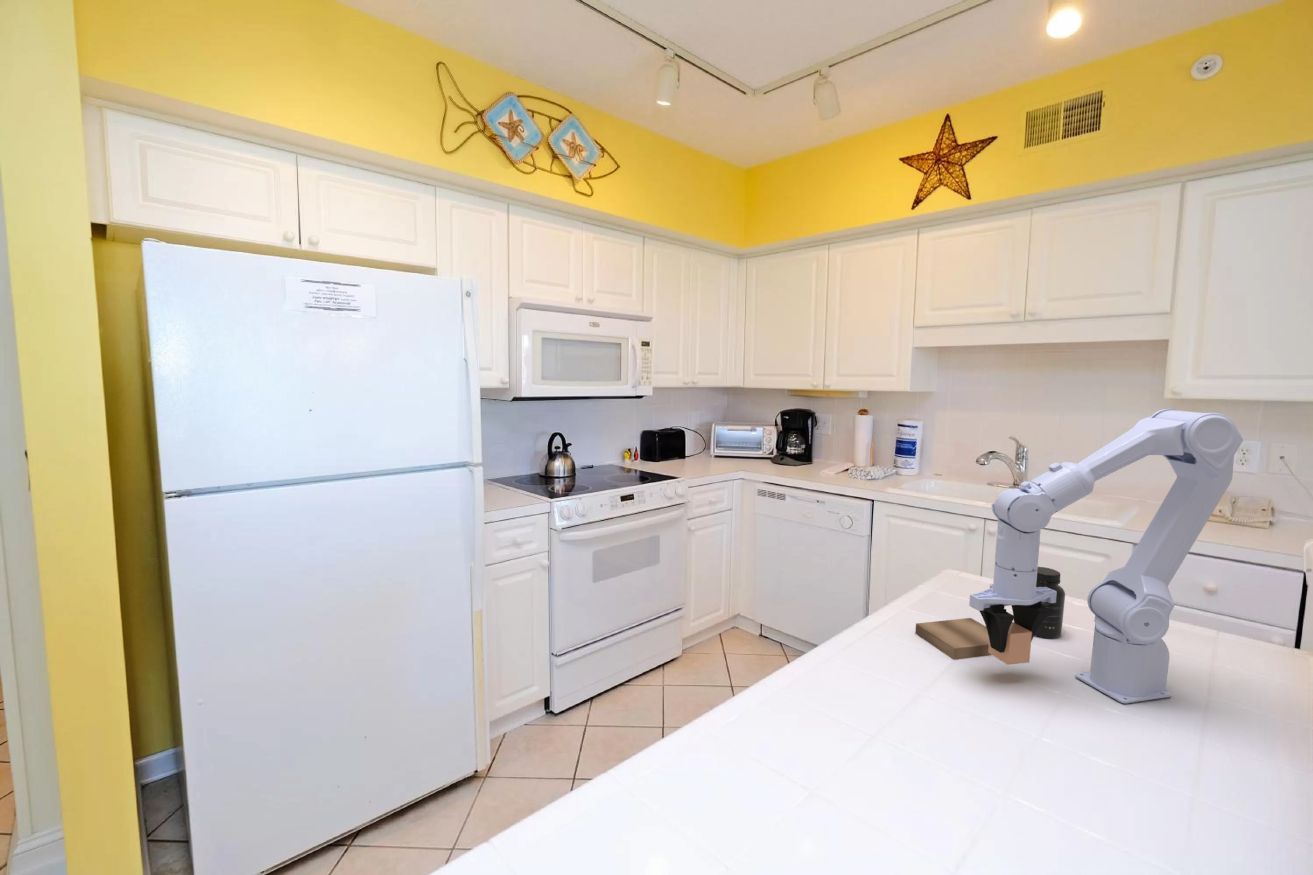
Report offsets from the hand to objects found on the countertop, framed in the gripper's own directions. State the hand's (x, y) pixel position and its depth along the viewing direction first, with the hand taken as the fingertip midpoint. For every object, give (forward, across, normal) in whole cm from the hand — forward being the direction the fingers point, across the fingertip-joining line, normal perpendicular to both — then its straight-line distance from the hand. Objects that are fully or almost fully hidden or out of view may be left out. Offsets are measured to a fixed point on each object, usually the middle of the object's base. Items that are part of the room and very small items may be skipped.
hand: (1009, 647), depth 92 cm
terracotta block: (+2, 0, 0) cm, 2 cm away
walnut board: (+6, -2, -12) cm, 13 cm away
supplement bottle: (+5, -20, -13) cm, 24 cm away
